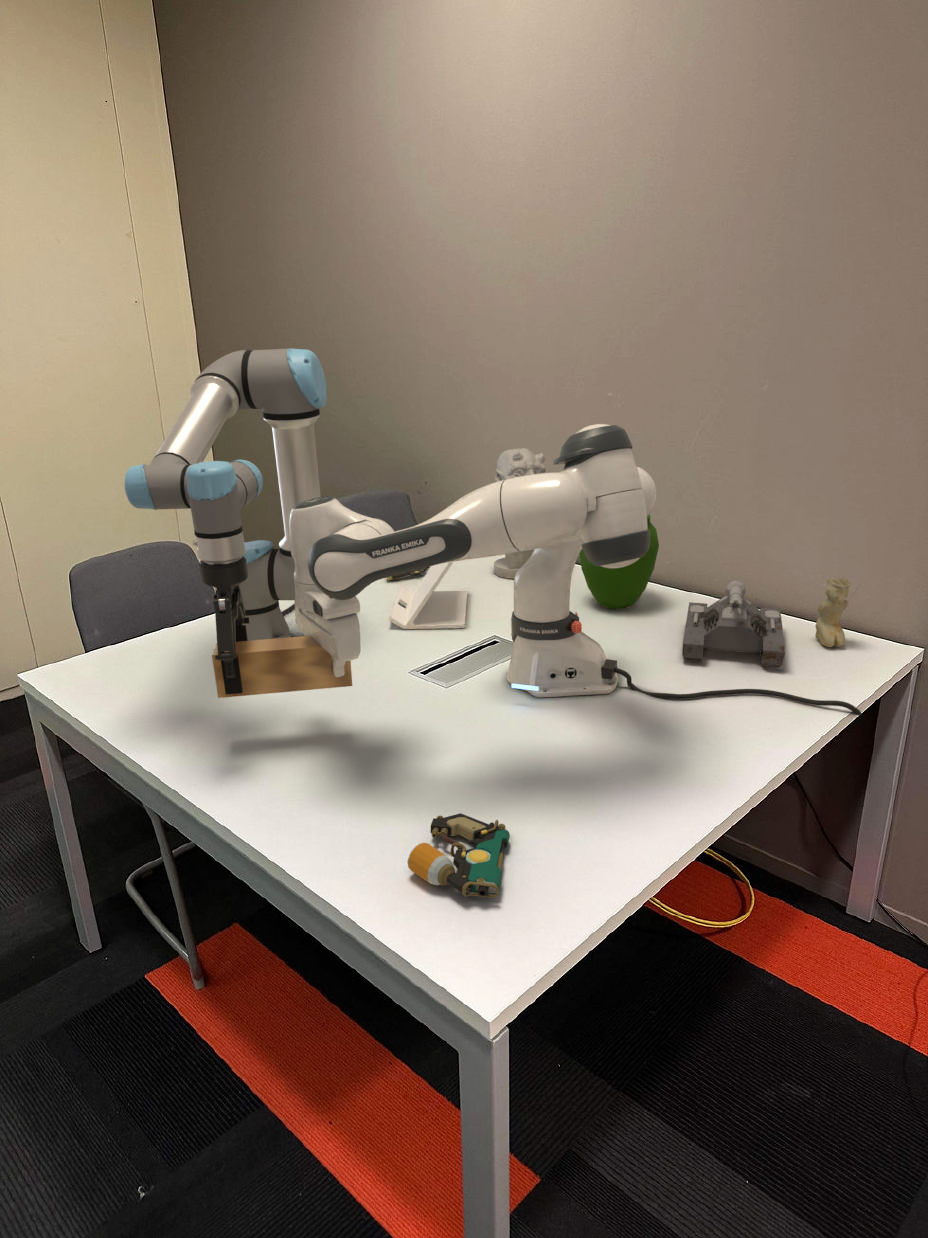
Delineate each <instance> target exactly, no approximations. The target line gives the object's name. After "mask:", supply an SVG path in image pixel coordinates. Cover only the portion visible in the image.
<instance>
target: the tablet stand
mask: <svg viewBox="0 0 928 1238" xmlns="http://www.w3.org/2000/svg"><path fill="white" fill-rule="evenodd" d="M453 564H454V562H448V563H441V564H437V565H433V566H430V568H429V569H428V571H427V573H426V574H425V575H424V577H423V579H422V580H421V581H420V583H419V584H418V585H417V587H416V589H415V590H412V589H410V588H409V587H407V586H406V585H403V584H400V585H399V586H398V589H397V591H396V595H395V598H394V601H393V604H392V607H391V610H390V612H389V613H390V614H389V617H388V621H389V622H391V623H392V624H394V625H396V626H398V627H399V628H401V629H402V630H426V629H427V630H429V629H430V630H431V629H435V630H436V629H437V630H438V629H464V628H465V627H466V618H467V617H466V616H467V605H468V591H467V590H436V589H437V587H438V585H440V582H441V581H442V580H443V578H444V577H445V575H446V574H447V573H448V571H449V570H450V569H451V567H452V566H453ZM399 603H400V604H399ZM402 605H403V606H405V607H403V606H402Z"/></svg>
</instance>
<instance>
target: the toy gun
mask: <svg viewBox="0 0 928 1238" xmlns="http://www.w3.org/2000/svg"><path fill="white" fill-rule="evenodd" d="M426 568H427V567H425V568H421V569H418V570H414V571H410V572H406V573H402V574H398V575H395V576H391V577H387V578H386V580H387V581H392V580H397V579H400V578H405V577H409V576H411V575H412V576H413V575H418V574H422V572H424V571H425V570H426Z"/></svg>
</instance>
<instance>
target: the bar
mask: <svg viewBox="0 0 928 1238" xmlns="http://www.w3.org/2000/svg"><path fill="white" fill-rule="evenodd" d="M224 652H230V651H224ZM236 653H237V655H238V659H239V667H240V674H241V681H242V688H243V693H239V694H227V695H226V693H225V686H224V679H223V673H222V666H221V660H216V659H215V655H218V648H217V642H216V643H215V644H214V648H213V651H212V654H211V660H212V665H213V672H214V680H215V686H216V692H217V698H218V699H223V698H232V697H233V698H234V697H246V696H257V695H268V694H281V693H290V692H302V691H311V690H312V691H314V690H324V689H334V688H347V687H353V673H352V672H353V671H352V662H351V661H352V660H350V661H346V662H345V666H344V671H345V674H344V675H343V676H341V677H335V676H334V675H333V674H332V669H331V666H332V665H333V659H332V655H330V654H329V653H328V652H327V651H325V650H324V649H323V648H322V646H321V645H320V644H318V643H317V642H316V641H315V640H313V639H312V638H311V637H310V636H307V635H303V636H291V637H289V638H276V639H264V640H252V641H240V642H236Z"/></svg>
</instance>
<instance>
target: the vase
mask: <svg viewBox="0 0 928 1238" xmlns="http://www.w3.org/2000/svg"><path fill="white" fill-rule="evenodd" d="M647 528H648V530H650V547H649V549H648V551H647V553H646V554H645V556H644V557H641V558H640V559H638V560H637V561H636V562H634V563H632V564H630V565H628V566H625V567H621V568H606V567H602V566H595V565H593V564H592V563H590V562H589V561H588V560H587V558H586V556H585V553H584V551H583V548H582V550H581V552H580V554H579V562H580V569H581V571H582V574H583V577H584V580H585V583H586V585H587V588H588V590H589V591H590V594H592V597H593V598H594V600H595V601H596V602H597V603H598V604H599V605H600V606H602V607H604V608H606V609H609V610H625V609H628V608H630V607H632V606H634V604H636V602H638V601H639V599H640V597H641V596H642V595H643V593H644V592H645V590H646V588H647V586H648V584H649V581H650V579H651V577H652V574H653V572H654V570H655V566H656V562H657V557H658V552H659V548H660V544H659V543H660V542H659V537H658V531H657V528H656V527H655V526H654V524H653V523H652V522H651V515H650V514H649V515H648V516H647Z"/></svg>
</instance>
